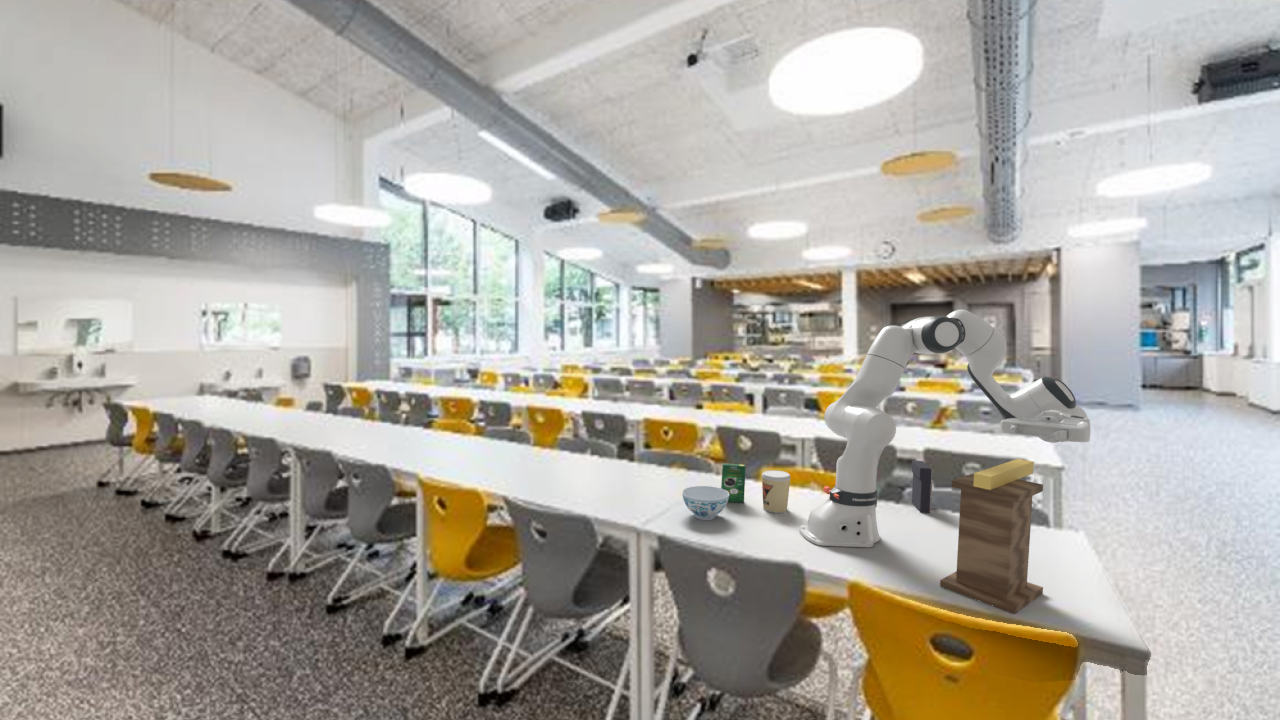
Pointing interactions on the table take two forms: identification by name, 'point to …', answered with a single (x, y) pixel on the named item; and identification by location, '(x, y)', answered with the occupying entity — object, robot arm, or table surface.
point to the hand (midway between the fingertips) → (1032, 433)
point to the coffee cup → (775, 490)
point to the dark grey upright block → (921, 486)
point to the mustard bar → (1003, 474)
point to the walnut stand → (994, 544)
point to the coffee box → (734, 481)
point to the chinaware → (705, 501)
